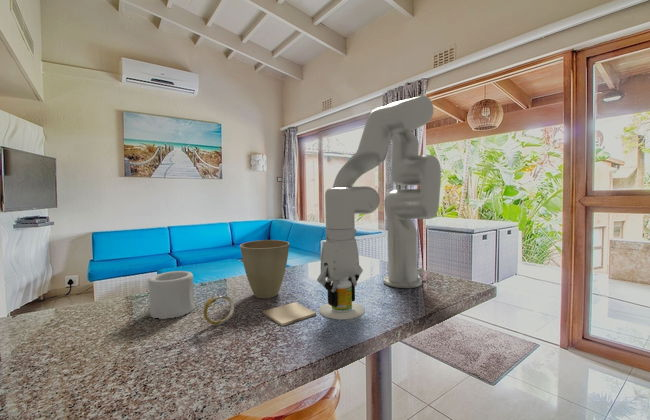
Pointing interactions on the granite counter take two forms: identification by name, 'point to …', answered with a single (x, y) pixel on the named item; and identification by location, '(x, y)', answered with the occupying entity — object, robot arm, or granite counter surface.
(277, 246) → the plant pot
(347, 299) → the supplement bottle
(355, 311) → the coaster
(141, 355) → the granite counter surface
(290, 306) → the wooden mat
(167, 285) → the mug
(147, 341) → the granite counter surface
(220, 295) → the ring
